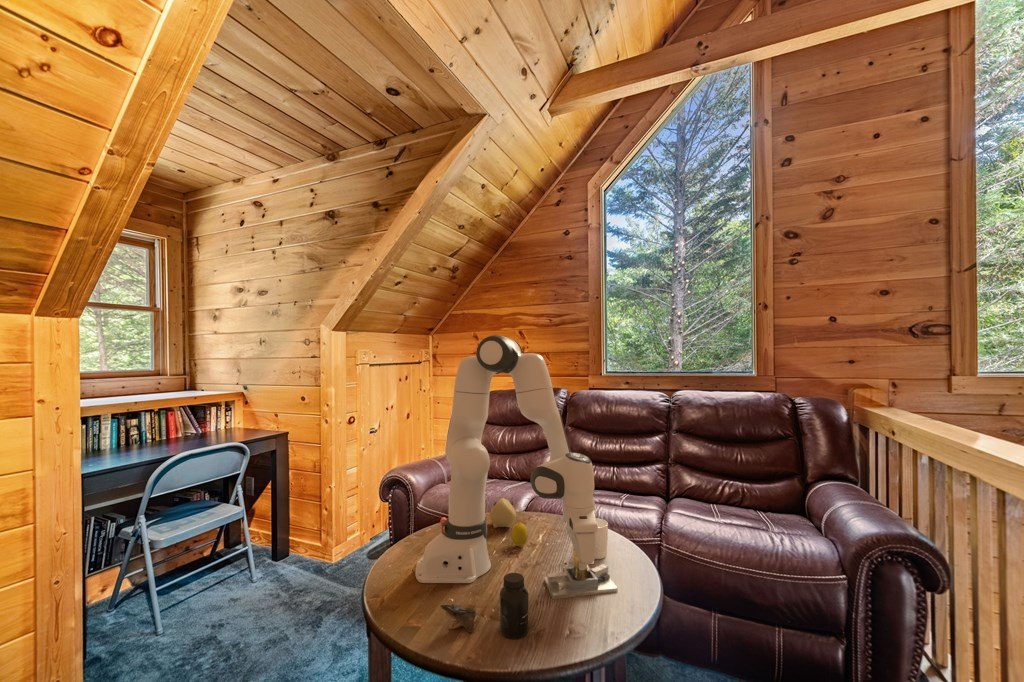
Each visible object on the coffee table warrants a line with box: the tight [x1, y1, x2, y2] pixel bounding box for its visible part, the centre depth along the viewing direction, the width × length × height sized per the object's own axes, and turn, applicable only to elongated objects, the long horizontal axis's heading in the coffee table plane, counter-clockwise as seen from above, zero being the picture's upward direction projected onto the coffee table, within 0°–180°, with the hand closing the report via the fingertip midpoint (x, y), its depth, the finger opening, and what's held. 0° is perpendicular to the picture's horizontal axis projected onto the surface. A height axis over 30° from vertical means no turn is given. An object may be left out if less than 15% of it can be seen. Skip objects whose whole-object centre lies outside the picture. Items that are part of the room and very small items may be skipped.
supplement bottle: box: [498, 572, 530, 640], centre depth 97 cm, size 7×7×12 cm
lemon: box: [510, 521, 529, 547], centre depth 139 cm, size 6×6×8 cm
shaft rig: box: [543, 563, 618, 600], centre depth 115 cm, size 18×9×4 cm, turn 100°
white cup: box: [595, 517, 609, 560], centre depth 133 cm, size 8×8×10 cm
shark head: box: [440, 603, 477, 634], centre depth 98 cm, size 8×6×7 cm
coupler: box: [572, 548, 589, 579], centre depth 115 cm, size 4×4×7 cm
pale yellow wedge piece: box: [488, 497, 517, 529], centre depth 155 cm, size 10×12×11 cm
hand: (579, 563), depth 115 cm, fingers closed on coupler, 4 cm apart
